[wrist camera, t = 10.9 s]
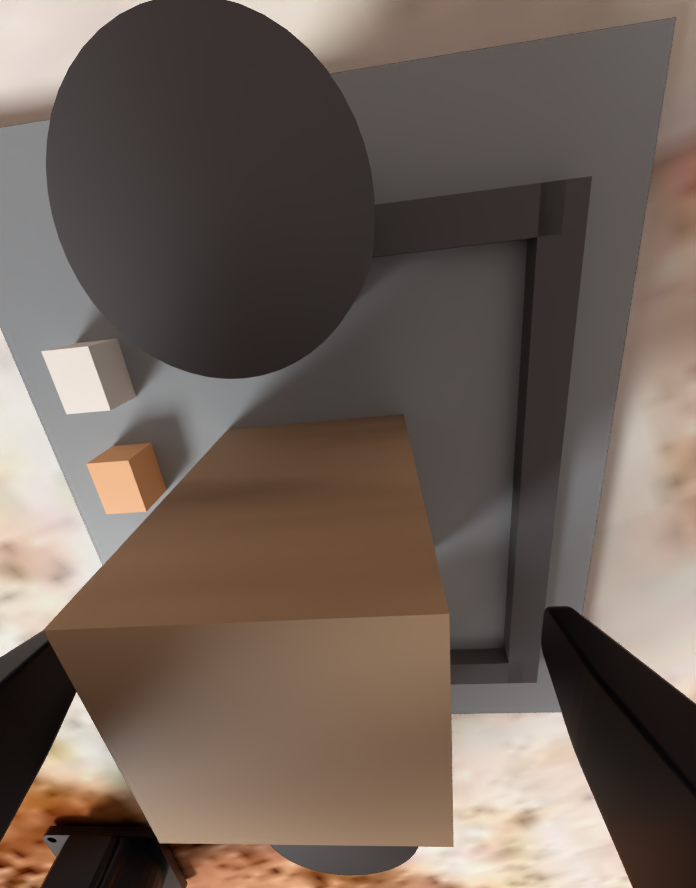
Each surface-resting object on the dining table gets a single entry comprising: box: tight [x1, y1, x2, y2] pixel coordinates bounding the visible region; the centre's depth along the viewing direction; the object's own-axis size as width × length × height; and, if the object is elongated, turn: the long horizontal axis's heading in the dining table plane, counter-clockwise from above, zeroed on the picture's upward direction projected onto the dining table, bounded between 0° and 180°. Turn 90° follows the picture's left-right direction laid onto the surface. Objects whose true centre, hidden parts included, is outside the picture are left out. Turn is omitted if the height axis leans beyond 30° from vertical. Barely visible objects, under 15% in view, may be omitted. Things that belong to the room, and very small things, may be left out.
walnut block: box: [43, 414, 453, 847], centre depth 9 cm, size 5×5×7 cm
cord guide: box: [46, 0, 592, 875], centre depth 10 cm, size 18×8×5 cm, turn 7°
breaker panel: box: [0, 17, 676, 714], centre depth 12 cm, size 20×16×2 cm
